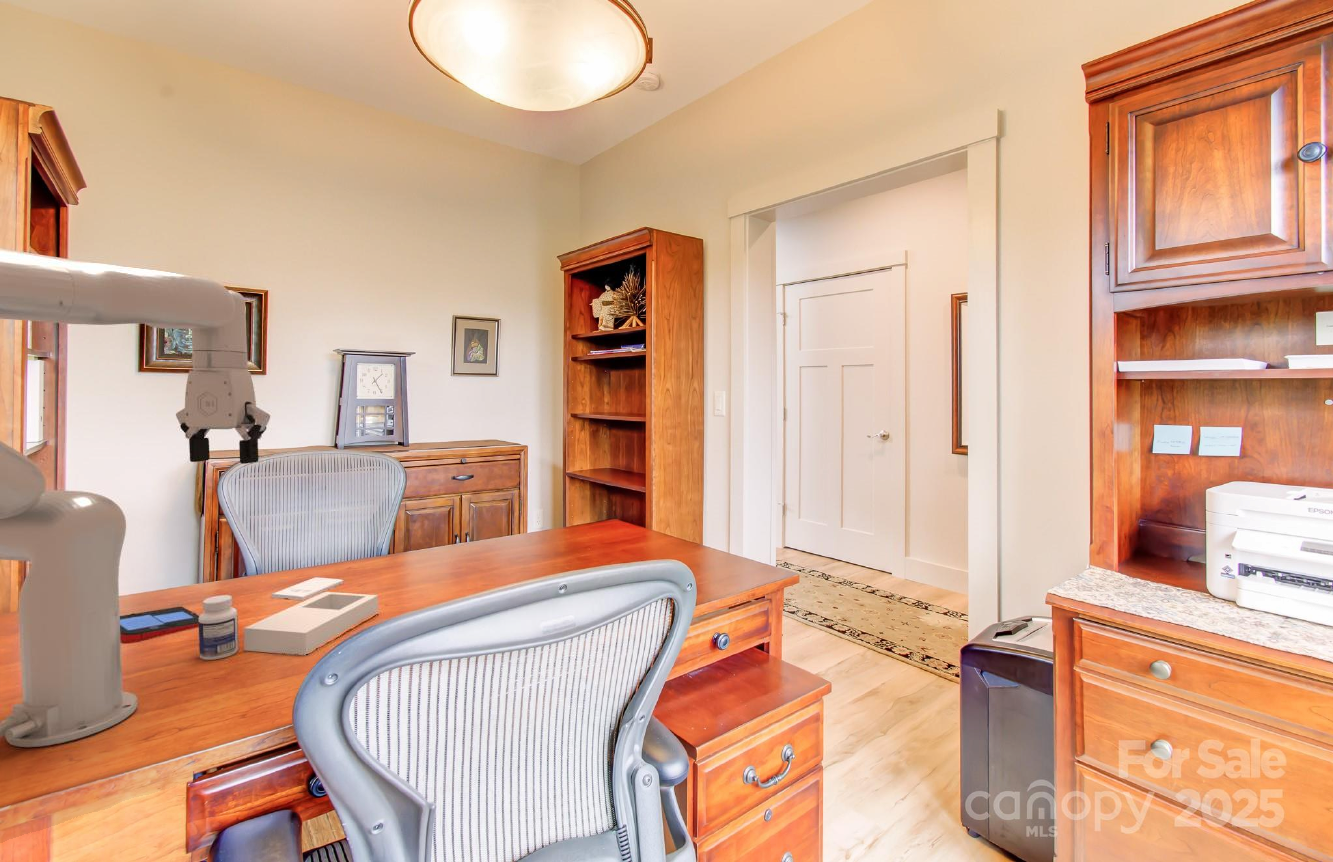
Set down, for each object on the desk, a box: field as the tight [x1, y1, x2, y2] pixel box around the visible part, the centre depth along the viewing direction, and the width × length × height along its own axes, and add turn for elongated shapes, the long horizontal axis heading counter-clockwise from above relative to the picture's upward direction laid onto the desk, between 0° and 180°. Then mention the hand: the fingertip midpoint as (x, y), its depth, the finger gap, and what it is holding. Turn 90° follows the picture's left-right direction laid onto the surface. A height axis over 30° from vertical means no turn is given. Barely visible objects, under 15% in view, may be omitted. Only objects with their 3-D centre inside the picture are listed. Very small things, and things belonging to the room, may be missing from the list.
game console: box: [120, 606, 200, 644], centre depth 115 cm, size 14×13×2 cm
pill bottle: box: [198, 594, 239, 661], centre depth 102 cm, size 5×5×10 cm
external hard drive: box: [270, 576, 345, 601], centre depth 137 cm, size 2×8×12 cm
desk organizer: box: [243, 591, 379, 656], centre depth 113 cm, size 20×12×4 cm, turn 172°
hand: (224, 461), depth 103 cm, fingers open, 9 cm apart
